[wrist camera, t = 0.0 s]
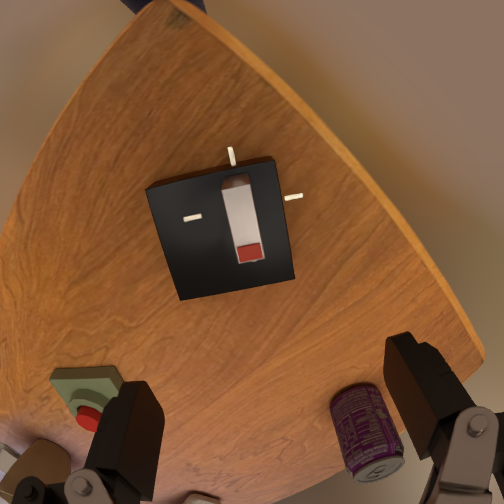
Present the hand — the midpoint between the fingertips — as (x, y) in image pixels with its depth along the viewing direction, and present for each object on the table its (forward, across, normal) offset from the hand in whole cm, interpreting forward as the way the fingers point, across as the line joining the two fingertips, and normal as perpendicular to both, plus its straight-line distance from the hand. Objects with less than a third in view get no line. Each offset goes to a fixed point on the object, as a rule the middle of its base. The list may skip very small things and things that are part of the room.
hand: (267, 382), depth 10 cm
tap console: (+19, +1, 0) cm, 19 cm away
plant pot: (+19, +46, +37) cm, 62 cm away
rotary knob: (+16, 0, -1) cm, 16 cm away
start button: (+16, +24, +20) cm, 35 cm away
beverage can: (+19, -9, +28) cm, 35 cm away
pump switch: (+19, +24, +20) cm, 37 cm away
